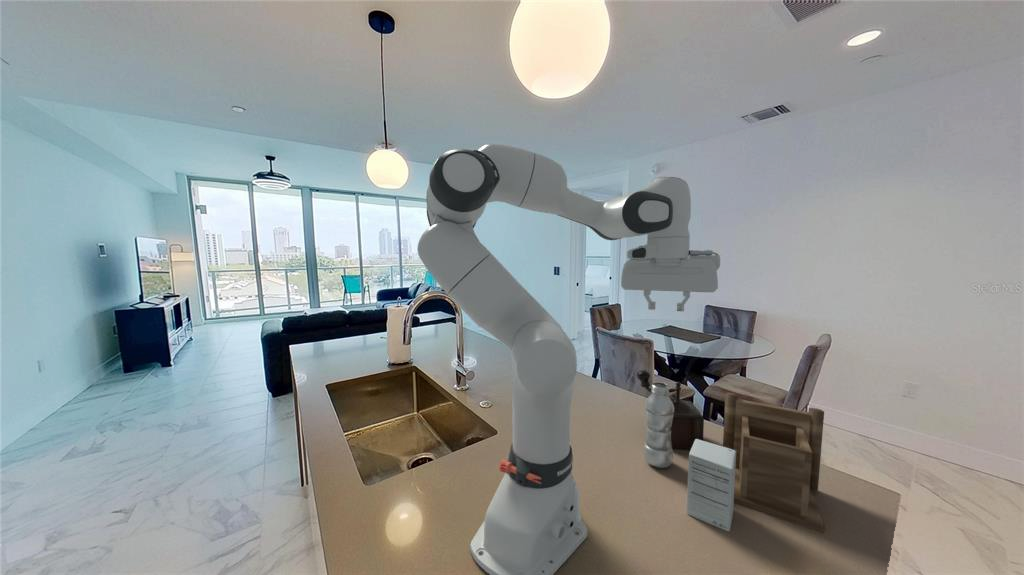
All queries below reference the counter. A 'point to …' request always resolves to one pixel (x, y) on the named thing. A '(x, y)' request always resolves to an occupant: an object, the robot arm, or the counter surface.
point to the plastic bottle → (659, 426)
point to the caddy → (775, 458)
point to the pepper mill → (680, 417)
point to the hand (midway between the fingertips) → (665, 310)
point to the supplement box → (711, 483)
